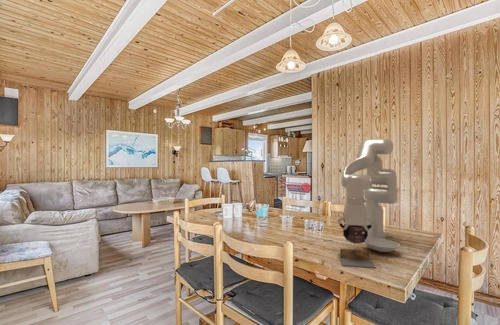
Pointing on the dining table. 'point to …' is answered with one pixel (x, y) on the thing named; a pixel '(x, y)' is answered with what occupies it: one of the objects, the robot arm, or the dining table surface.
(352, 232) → the box
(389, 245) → the dish
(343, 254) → the walnut rail
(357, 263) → the rubber mat
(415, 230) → the dining table surface
